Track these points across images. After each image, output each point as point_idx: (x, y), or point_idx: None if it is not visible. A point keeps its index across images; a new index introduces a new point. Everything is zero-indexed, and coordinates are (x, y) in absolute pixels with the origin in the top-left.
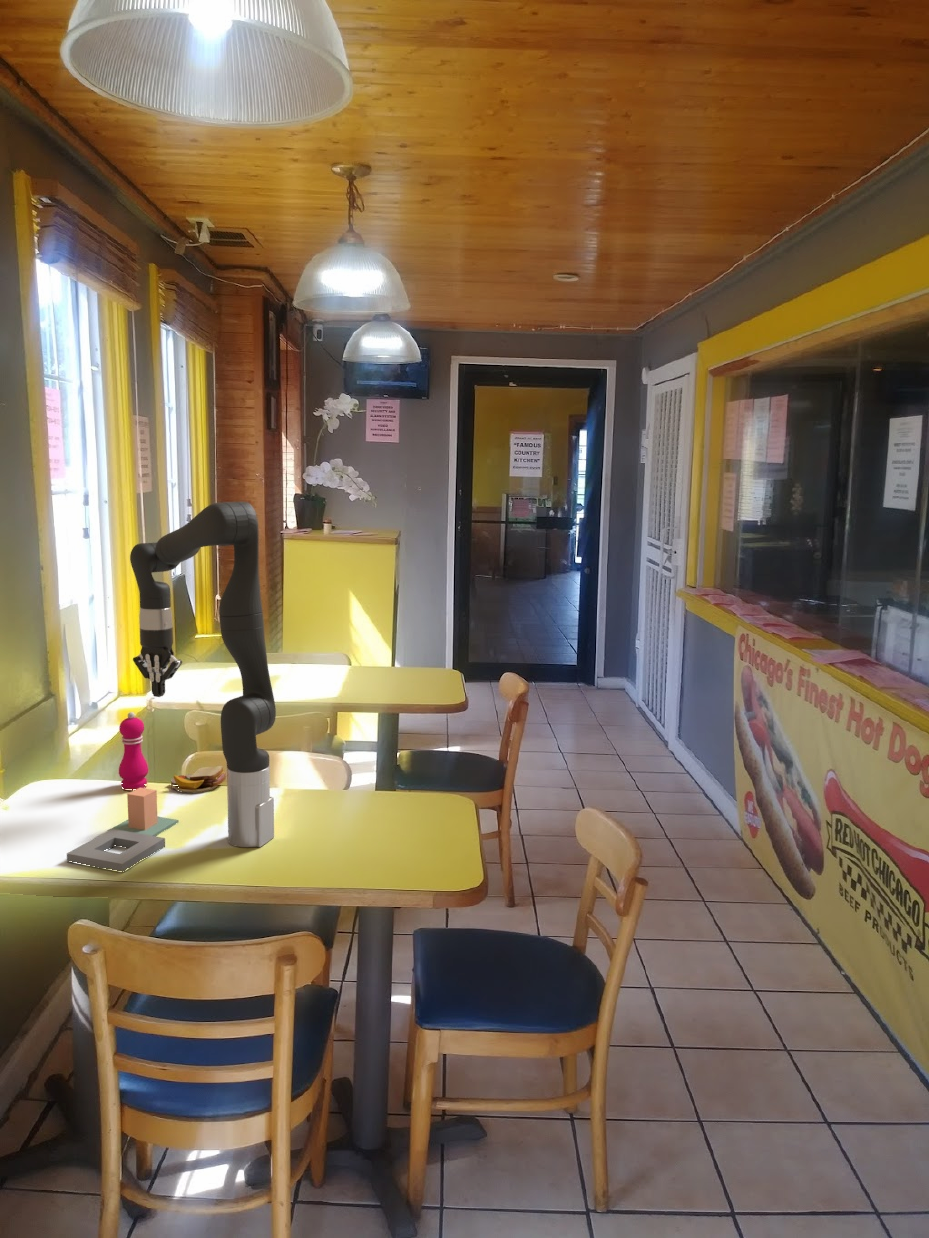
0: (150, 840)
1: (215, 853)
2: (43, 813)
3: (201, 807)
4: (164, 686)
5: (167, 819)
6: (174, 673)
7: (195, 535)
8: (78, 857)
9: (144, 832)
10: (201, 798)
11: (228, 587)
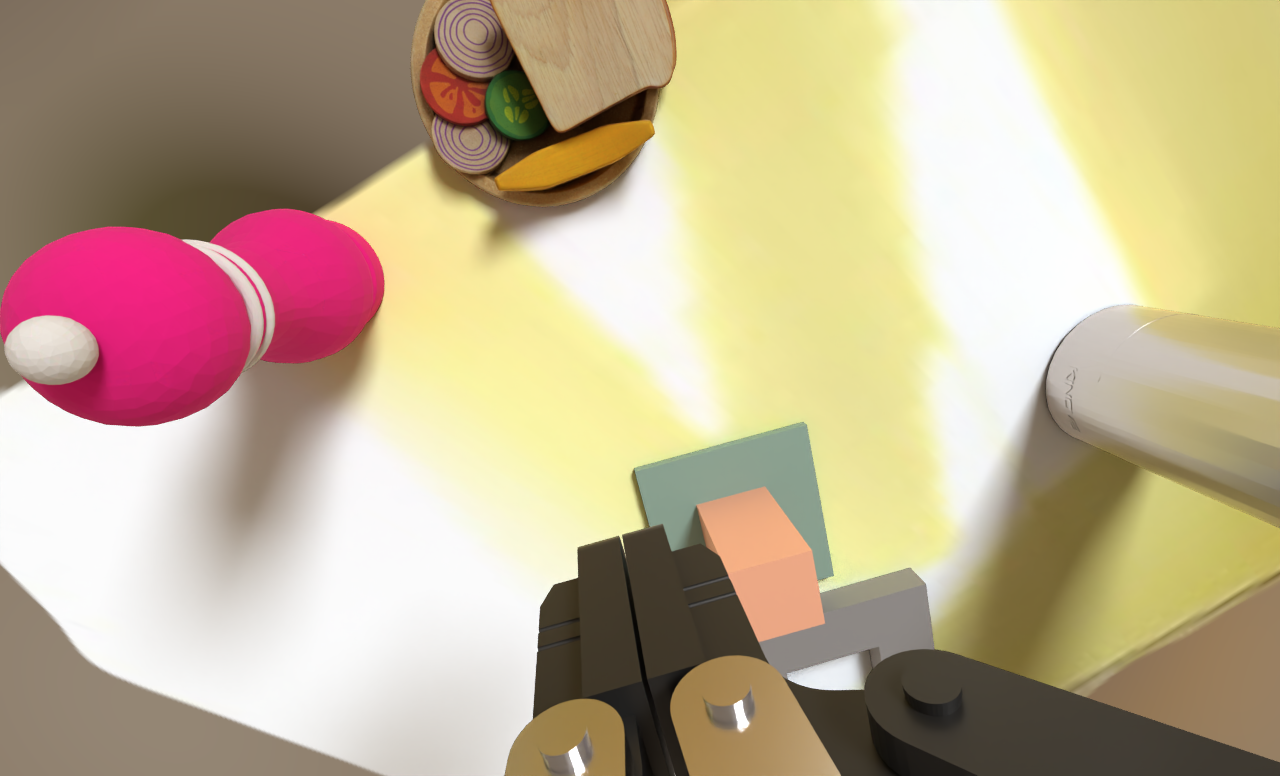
0: (899, 620)
1: (1073, 507)
2: (332, 656)
3: (766, 268)
4: (744, 621)
5: (769, 445)
6: (1137, 727)
7: None
8: None
9: None
10: (690, 194)
11: None
